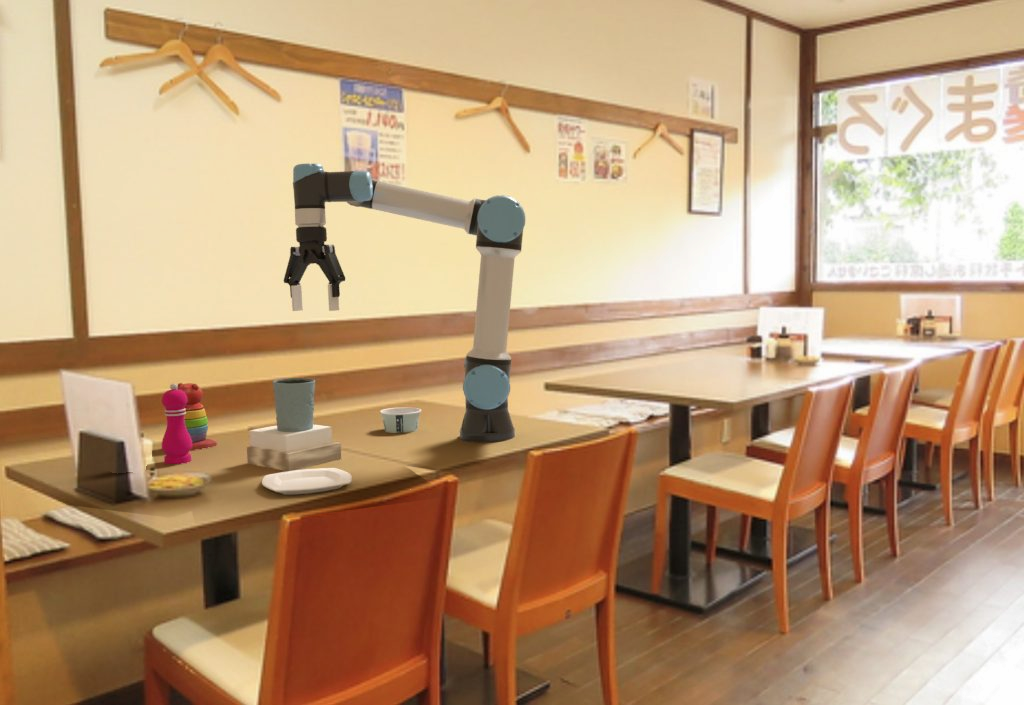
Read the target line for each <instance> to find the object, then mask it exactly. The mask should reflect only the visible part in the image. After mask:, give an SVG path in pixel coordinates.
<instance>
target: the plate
mask: <svg viewBox="0 0 1024 705" xmlns="http://www.w3.org/2000/svg"><path fill="white" fill-rule="evenodd" d="M352 479H353V478H352V475H351V473H350V472H347V471H345V470H343V469H340V468H337V467H324V468H322V467H321V468H306V469H305V468H302V469H297V470H293V471H282V472H275V473H270V474H266V475H264V477H263V478H262V481H261V485H263V487H264V488H266V489H269V490H271V491H273V492H275V493H279V494H282V495H283V496H287V495H288V496H290V495H305V494H315V493H321V492H326V491H333V490H338V489H341V488H342V487H343V486H345V485H349V484H351V482H352Z"/></svg>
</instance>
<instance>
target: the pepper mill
mask: <svg viewBox="0 0 1024 705" xmlns="http://www.w3.org/2000/svg"><path fill="white" fill-rule="evenodd" d="M177 385H178V384H177V383H175V382H173V383H171V384H170V385H169V388H170V389H169V390H166V391H165V392H164V393H163V394H162V397H161V404H162V406H163V407H164V408H165V409H164V416H166V428H165V432H164V435H163V437H162V439H161V450H162V451H163V453H165V456H164V464H165V465H167V464H178V465H182V464H181V463H185V464H188V463H187V462H189V463H191V462H192V454H191V453H190V452H191V451H192V450H191V448H192V440H191V437H190V435H189V433H188V431H187V429H186V426H185V421H184V414H186V412H185V410H186V409H185V408H184V407H185V405H186V404H187V395H186V394H185V392H183V391H182V390H178V389H177V388H178V386H177ZM190 450H191V451H190ZM190 461H191V462H190Z"/></svg>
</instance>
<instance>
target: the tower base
mask: <svg viewBox="0 0 1024 705" xmlns="http://www.w3.org/2000/svg"><path fill="white" fill-rule="evenodd" d="M341 445H342V443H341V442H338V441H332V443H329V444H324V445H319V446H315V447H310V448H305V449H301V450H296V451H291V452H281V451H275V450H269V449H263V448H257V447H251V446H250V445H249V446H246V453H247V454H246V455H247V460H246V461H247V465H251V466H258V467H262V468H269V469H274V470H278V471H279V470H280V471H283V472H287V471H294V470H302V469H305V468H306V469H307V468H310V467H313V466H317V465H322V464H325V463H330V462H333V461H339V460H340V459H341V460H342V446H341Z"/></svg>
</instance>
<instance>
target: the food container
mask: <svg viewBox="0 0 1024 705" xmlns="http://www.w3.org/2000/svg"><path fill="white" fill-rule="evenodd" d="M421 412H422V409H421V408H417V407H407V406H406V407H403V406H402V407H391V408H384V409H381V410H380V411H379V414H381V417H382V424H383V428H384V432H386V433H389V434H404V433H411V432H416V431H418V430H419V424H420V423H419V421H420V413H421Z"/></svg>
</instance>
